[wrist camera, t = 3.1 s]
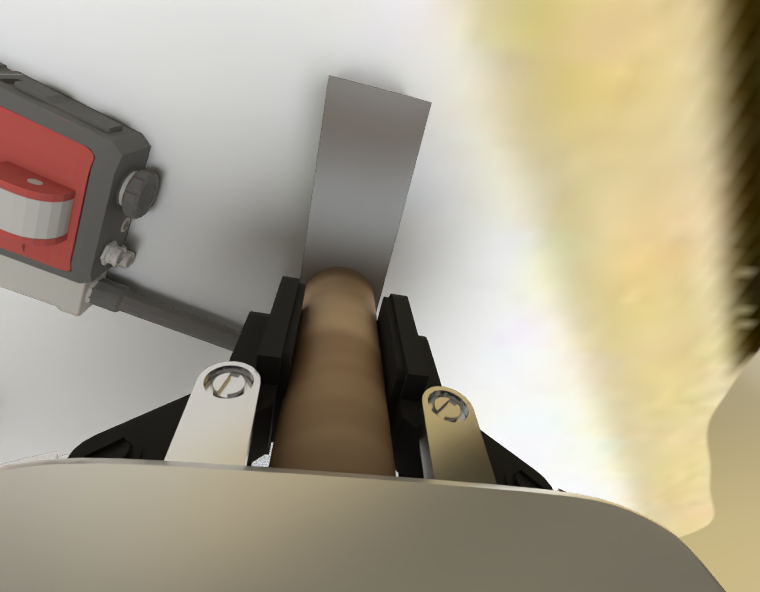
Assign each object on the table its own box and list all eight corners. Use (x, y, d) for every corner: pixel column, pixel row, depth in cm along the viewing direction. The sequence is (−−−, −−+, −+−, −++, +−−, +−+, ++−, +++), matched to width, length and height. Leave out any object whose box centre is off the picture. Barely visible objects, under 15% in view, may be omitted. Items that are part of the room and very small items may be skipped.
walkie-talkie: (-217, 174, 15) (256, 349, 21) (-405, 206, 11) (237, 407, 18) (-257, -78, 12) (324, 217, 18) (-546, -154, 8) (318, 254, 14)
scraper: (345, 361, 22) (343, 658, 11) (293, 354, 21) (233, 660, 10) (407, 96, 15) (576, 142, 4) (334, 76, 15) (293, 66, 3)
